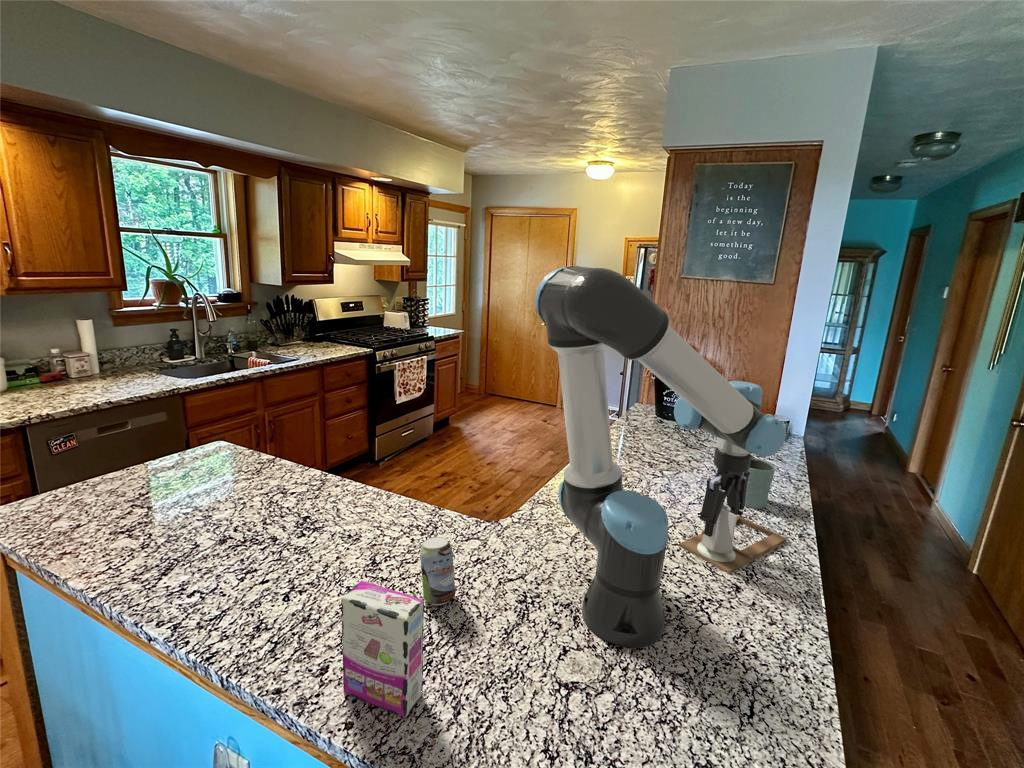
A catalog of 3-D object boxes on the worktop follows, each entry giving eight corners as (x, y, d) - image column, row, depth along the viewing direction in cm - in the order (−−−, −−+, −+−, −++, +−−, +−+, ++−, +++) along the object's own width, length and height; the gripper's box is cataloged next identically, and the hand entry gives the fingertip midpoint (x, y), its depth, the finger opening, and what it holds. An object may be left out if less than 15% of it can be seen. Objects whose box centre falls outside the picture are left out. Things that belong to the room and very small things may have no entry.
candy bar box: (424, 693, 75) (426, 598, 71) (406, 720, 71) (407, 620, 67) (362, 668, 79) (361, 577, 75) (341, 693, 74) (339, 597, 71)
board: (728, 573, 110) (729, 569, 110) (678, 545, 120) (679, 541, 120) (786, 541, 125) (787, 537, 125) (738, 519, 135) (738, 515, 135)
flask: (736, 556, 113) (744, 516, 111) (703, 551, 114) (709, 511, 112) (729, 540, 120) (736, 502, 117) (698, 535, 121) (704, 497, 119)
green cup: (759, 513, 140) (766, 473, 137) (724, 499, 147) (730, 461, 144) (773, 503, 146) (781, 465, 144) (739, 490, 154) (746, 454, 151)
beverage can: (441, 614, 92) (443, 557, 89) (411, 599, 96) (412, 543, 93) (462, 597, 97) (464, 542, 94) (433, 583, 101) (434, 529, 98)
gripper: (723, 464, 103) (706, 563, 108) (772, 448, 114) (755, 538, 120) (692, 452, 109) (677, 546, 114) (741, 438, 120) (726, 524, 125)
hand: (717, 542), depth 117 cm, fingers closed on flask, 7 cm apart
